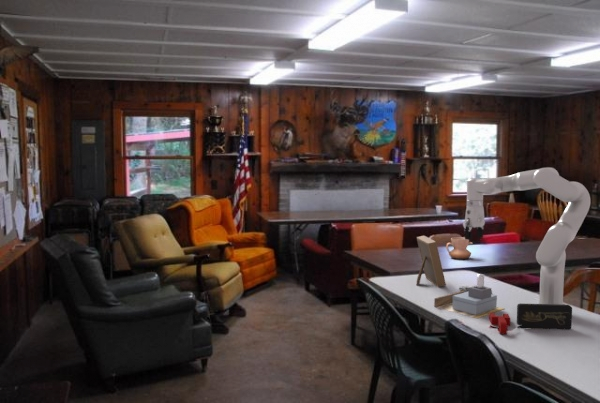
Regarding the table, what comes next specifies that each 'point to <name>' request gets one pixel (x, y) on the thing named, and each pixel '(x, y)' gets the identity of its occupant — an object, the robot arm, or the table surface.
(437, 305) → the bay
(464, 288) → the pulley system
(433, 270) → the photo frame
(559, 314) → the nameplate
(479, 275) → the handle peg
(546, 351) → the table surface
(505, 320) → the red block assembly
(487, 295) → the square socket plate
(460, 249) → the ceramic jug
